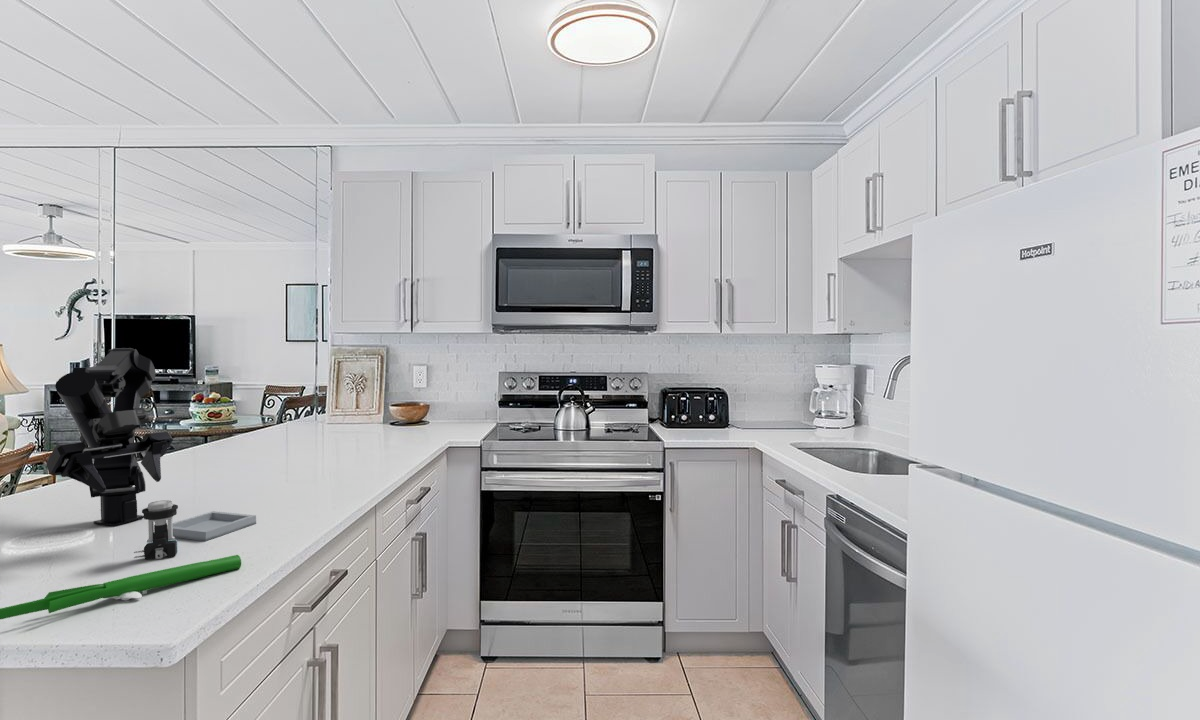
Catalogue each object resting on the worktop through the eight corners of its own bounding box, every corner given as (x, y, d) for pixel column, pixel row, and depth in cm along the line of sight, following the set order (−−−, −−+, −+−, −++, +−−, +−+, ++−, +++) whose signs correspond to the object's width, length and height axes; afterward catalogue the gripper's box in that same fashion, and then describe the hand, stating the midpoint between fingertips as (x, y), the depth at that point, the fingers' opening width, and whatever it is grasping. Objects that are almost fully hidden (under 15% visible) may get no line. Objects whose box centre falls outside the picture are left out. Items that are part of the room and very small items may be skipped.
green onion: (232, 570, 107) (-6, 624, 83) (233, 551, 107) (-5, 600, 83) (244, 577, 104) (1, 635, 80) (245, 558, 104) (2, 610, 80)
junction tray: (160, 535, 123) (160, 527, 123) (213, 519, 135) (212, 511, 135) (206, 541, 120) (205, 532, 120) (256, 523, 132) (256, 515, 132)
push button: (130, 565, 107) (129, 508, 107) (138, 555, 112) (137, 501, 112) (175, 559, 110) (174, 504, 110) (181, 550, 115) (180, 497, 115)
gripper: (52, 399, 107) (89, 467, 102) (166, 391, 124) (201, 449, 119) (31, 441, 110) (65, 508, 106) (144, 427, 127) (178, 485, 123)
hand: (132, 485), depth 113 cm, fingers open, 9 cm apart
